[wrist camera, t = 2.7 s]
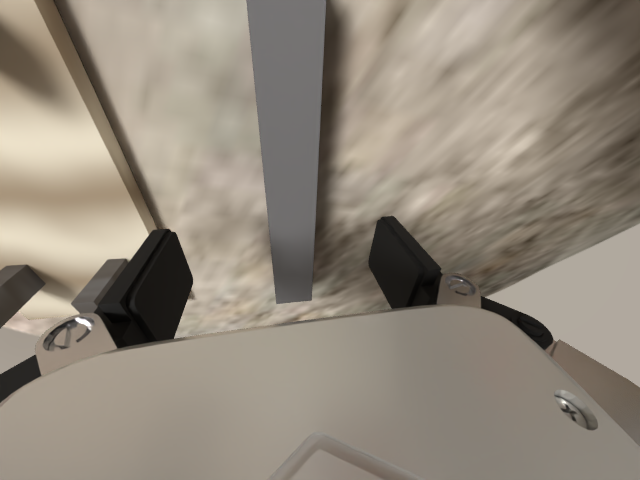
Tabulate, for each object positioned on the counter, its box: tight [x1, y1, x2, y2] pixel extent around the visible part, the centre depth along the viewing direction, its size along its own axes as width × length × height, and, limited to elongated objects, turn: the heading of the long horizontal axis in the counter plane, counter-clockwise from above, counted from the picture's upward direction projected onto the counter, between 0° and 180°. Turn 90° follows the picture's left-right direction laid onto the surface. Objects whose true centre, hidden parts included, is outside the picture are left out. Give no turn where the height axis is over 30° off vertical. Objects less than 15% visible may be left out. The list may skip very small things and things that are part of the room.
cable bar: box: [246, 0, 326, 304], centre depth 15 cm, size 20×3×4 cm, turn 177°
